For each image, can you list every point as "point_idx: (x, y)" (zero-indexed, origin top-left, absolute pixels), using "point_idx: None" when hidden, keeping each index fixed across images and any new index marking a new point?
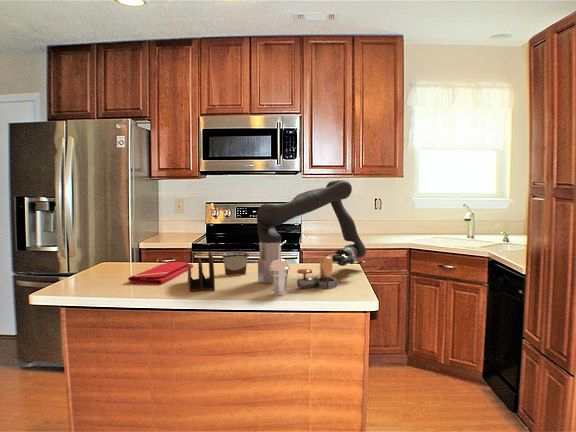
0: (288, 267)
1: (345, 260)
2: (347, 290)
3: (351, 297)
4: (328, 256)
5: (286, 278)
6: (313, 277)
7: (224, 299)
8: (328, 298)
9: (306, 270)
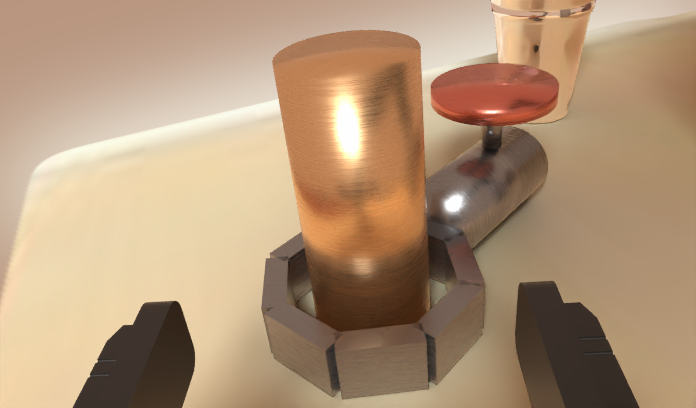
0: None
1: (116, 350)
2: (170, 266)
3: (145, 175)
4: (331, 69)
5: (496, 29)
6: (446, 179)
7: (654, 28)
8: (263, 135)
9: (476, 85)
